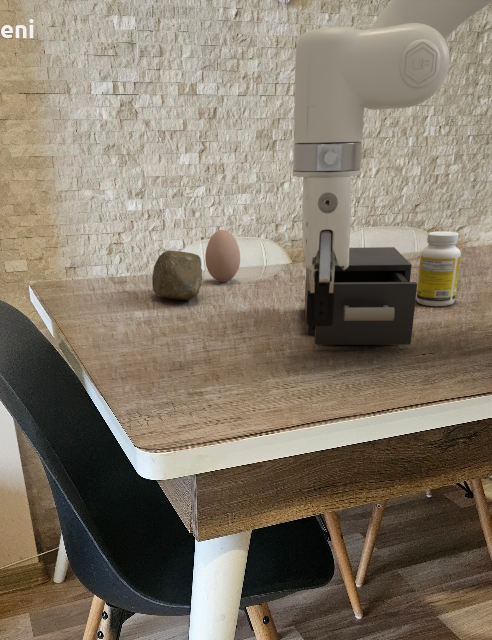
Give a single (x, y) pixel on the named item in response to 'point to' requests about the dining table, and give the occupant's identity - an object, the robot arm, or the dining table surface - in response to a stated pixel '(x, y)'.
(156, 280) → the stone
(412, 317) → the pull-out drawer
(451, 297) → the pill bottle
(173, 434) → the dining table surface
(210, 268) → the egg
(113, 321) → the dining table surface
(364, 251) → the dark grey drawer unit
